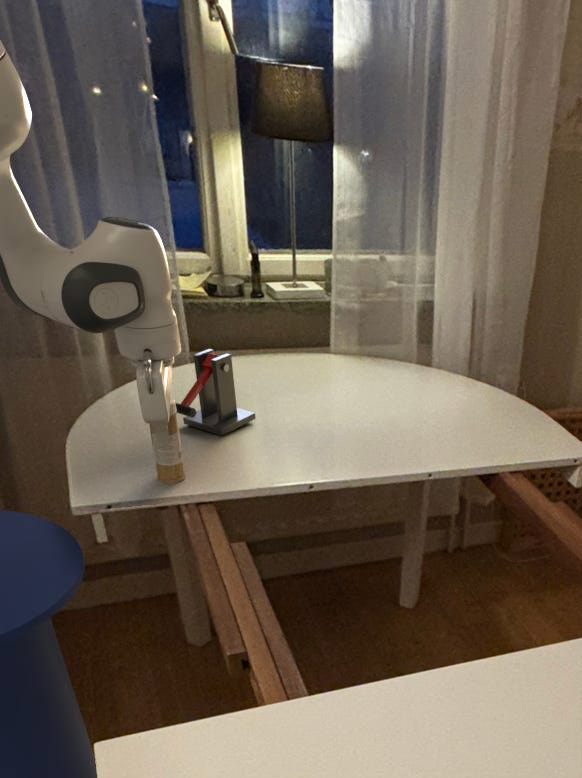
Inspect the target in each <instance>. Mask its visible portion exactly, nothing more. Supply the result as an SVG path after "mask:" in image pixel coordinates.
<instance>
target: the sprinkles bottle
mask: <svg viewBox="0 0 582 778" xmlns="http://www.w3.org/2000/svg"><path fill="white" fill-rule="evenodd" d="M176 403H177V402H176V400H175V399H174V398H172V397H171V403H170V419H169V422H168V423H167V427H168V431H169V441H167V442H159V441H157V438H156V433H155V430H154V428H153V425H152V424H148V425H149V433H150V438H151V448H152V453H153V459H154V462H155V468H156V469H155V470H156V478H157V480H158V481H159V482H160V483H163V484H169V485H170V484H178V483H182V482H183V481H185V480H186V473H185V468H184V467H185V466H184V456H183V448H182V442H181V441H182V440H181V435H180V430H179V424H178V418H177V414H178V413H176V412H177V409H176Z"/></svg>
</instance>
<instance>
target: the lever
mask: <svg viewBox="0 0 582 778" xmlns="http://www.w3.org/2000/svg"><path fill="white" fill-rule="evenodd" d="M219 356H220V355H218V354H215V353H214V354H212V353H209V355H208V356H207V358H206V359H205V360H204V362H203V363H202V365H203V366H204V368H205V370H204V371H203V373H202V374H201V375H200V377H199V378H198V380H197V379H196V381H195V382H194V384H192V385H193V386H192V387H191V388H190V389H189V391H188V392H187V394H186V395H185V396H184V398H183V399H182V401H181V403H178V402H175V403H176V409H177V412H176V413H177V414H179V415H182V416H184V417H186V416H188V417H192V418H193V417H195V415H196V412H197V410H196V408H194V407H192V406H191V405H192V404H193V402H194V400H195V399H196V398H197V396H199V392H200V391H201V389H202V388H203V386H204V385H205V383H206V382H207V381H208V379H209V378H210V376H211V375H212V374H213V372H212V364H211V359H214V358H217V357H219Z"/></svg>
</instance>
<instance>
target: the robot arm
mask: <svg viewBox="0 0 582 778" xmlns="http://www.w3.org/2000/svg"><path fill="white" fill-rule="evenodd" d="M32 118H33V113H32V108H31V105H30V101H29V99H28V95H27V93H26V89H25V87H24V84H23V82H22V79H21V76H20V75H19V73H18V70H17V69H16V67H15V65H14V64H13V61H12V59H11V57H10V55H9V53H8V51H7V49H6V47H5V46H4V44H3V41H2V40H1V39H0V281H1V284H2V287H3V289H4V291H5V292H6V295H7V296H8V297H9V299H10V300H11V301H12V302H13V303H14V304H15V305H16V306H17V307H18V308H19V309H21V310H23V311H25V312H26V313H28V314H31V315H33V316H37V317H42V318H46V319H50V320H53V321H55V322H58V323H60V324H63V325H66V326H67V327H72V328H74V329H77V330H79V331H82V332H86V333H90V334H104V333H108V332H111V331H114V334H115V339H116V344H117V348H118V353H119V354H120V355H121V356H122V357H124V358H127V359H129V363H130V365H132V366H133V367H135V368H136V369H135V379H136V381H135V382H136V388H137V394H138V401H139V406H140V411H141V416H142V419H143V422H144V423H145V424H148V425H149V424H152V425H153V428H154V430H155V433H156V438H157V441H159V442H167V441H169V431H168V427H167V423H168V422H169V419H170V403H171V398H172V384H173V373H174V372H173V371H174V369H173V364H174V363H175V360H176V359H175V357H176V356H178V355H180V354H181V352H182V344H181V343H182V342H181V338H180V332H179V331H180V330H179V324H178V319H177V314H176V311H175V310H174V307H173V304H172V292H173V287H172V286H173V284H172V279H171V272H170V267H169V263H168V257H167V253H166V250H165V247H164V244H163V242H162V239H161V237H160V234H159V232H158V231H157V230H156V229H155V228H154V227H153V226H151V225H150V224H148V223H145V222H142V221H139V220H135V219H128V218H126V217H118V216H105V217H101V218H100V219H98V221H97V224H96V227H95V229H94V230H93V231H92V233H91V234H90V235H89V236H88V237H87V238H86V239H85V240H83V242H81V243H80V244H78V245H77V246H75V247H73V248H71V249H70V248H68V247H64V246H62V245H60V244H58V243H57V242H55V241H54V240H53V239H52V238H50V237H49V236H48V235H46V234H45V233H44V231H43V230H42V229H41V228H40V226H39V225H38V224H37V222H36V220H35V218H34V215H33V213H32V211H31V209H30V207H29V205H28V203H27V201H26V198H25V197H24V195H23V193H22V191H21V188H20V187H19V184H18V182H17V180H16V178H15V176H14V174H13V171H12V168H11V167H12V166H11V161H10V159H11V155H12V154H13V153H15V152H16V151H18V150H19V149H20V148H21V147H22V146H23V145H24V143H25V141H26V140H27V138H28V135H29V133H30V130H31V126H32V120H33V119H32Z"/></svg>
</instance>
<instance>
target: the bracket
mask: <svg viewBox="0 0 582 778" xmlns="http://www.w3.org/2000/svg"><path fill="white" fill-rule="evenodd" d="M209 353H212V354H215V351H214V349H212V348H208V349H204V350H203V351H200V352H197V353H194V354H193V363H194V370H195V377H196V381H197V380H198V378H199V377H200V375H201V374H202V373H203V371H204V370H205V368H204V366H203V365H202V363H203V362H204V360H205V359H206V358H207V356H208V355H209ZM211 364H212V372H213V374H212V375H211V376H210V378H209V379H208V381H207V382H206V383H205V385H204V386H203V388H202V389H201V391H200V392H199V393H198V399H199V408H200V410H196V415H195V417H193V418H192V417H188V416H184V417H182V421H183V424H184V425H186V426H190V427H193V428H197V429H200V430H203V431H206V432H209V433H212V434H215V435H219V436H225V435H226V434H229V433H230V432H232V431H234V430H236V429H238V428H240V427H242V426H244V425H247V424H248V423H250V422H252V421H254V420H256V419H257V418H256V413H255V412H253V411H249V410H246V409H243V408H241V407H238V405H237V398H236V387H235V378H234V369H233V359H232V354H231V353H225V354H224V353H223V354H222V355H219V357H217V358H214V359H211Z"/></svg>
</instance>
